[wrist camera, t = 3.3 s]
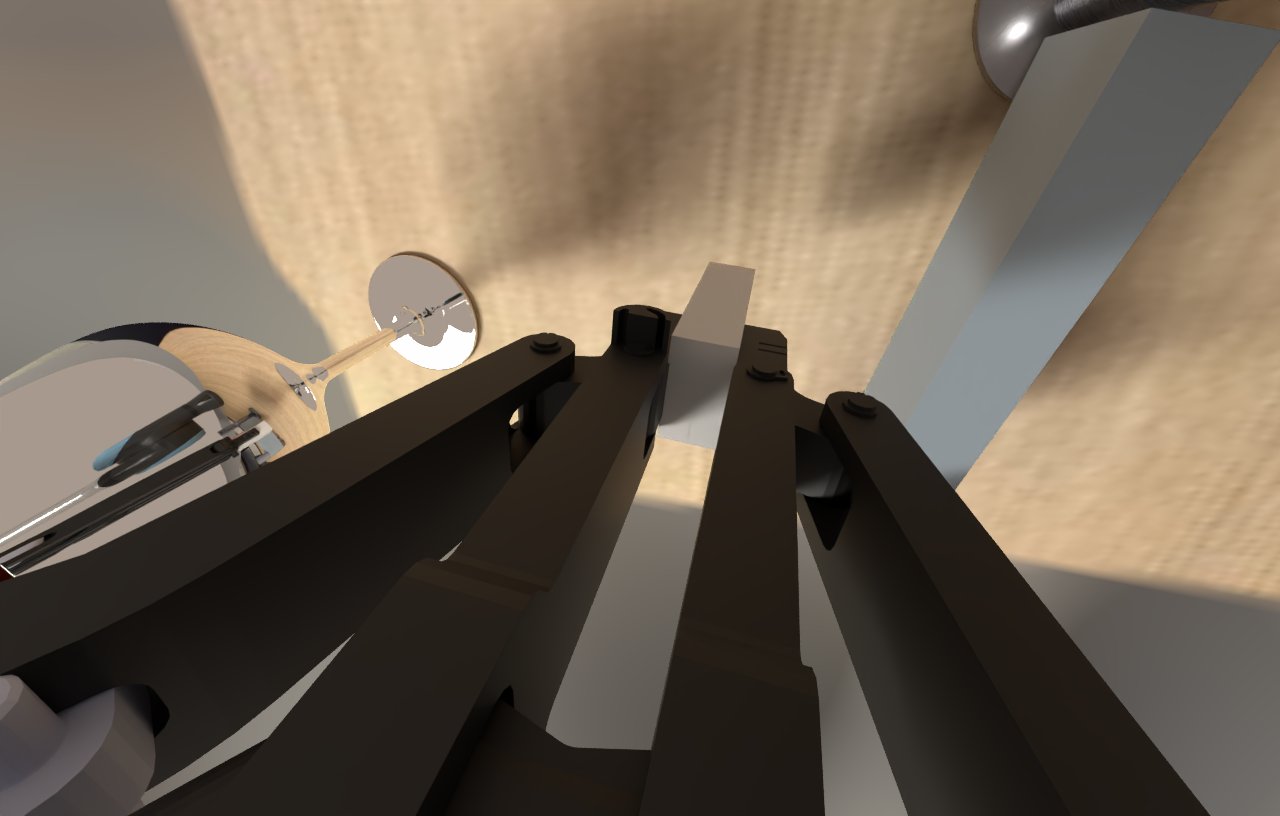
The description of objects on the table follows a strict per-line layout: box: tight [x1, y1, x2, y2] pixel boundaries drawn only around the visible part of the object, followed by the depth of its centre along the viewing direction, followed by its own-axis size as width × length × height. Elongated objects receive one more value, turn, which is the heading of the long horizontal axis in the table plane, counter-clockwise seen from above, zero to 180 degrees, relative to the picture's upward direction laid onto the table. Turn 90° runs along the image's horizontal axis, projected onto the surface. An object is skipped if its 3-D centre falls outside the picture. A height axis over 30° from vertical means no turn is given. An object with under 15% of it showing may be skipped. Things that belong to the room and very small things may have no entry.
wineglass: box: [0, 255, 478, 582], centre depth 19 cm, size 8×8×18 cm
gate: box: [864, 8, 1280, 490], centre depth 16 cm, size 15×2×9 cm, turn 170°
